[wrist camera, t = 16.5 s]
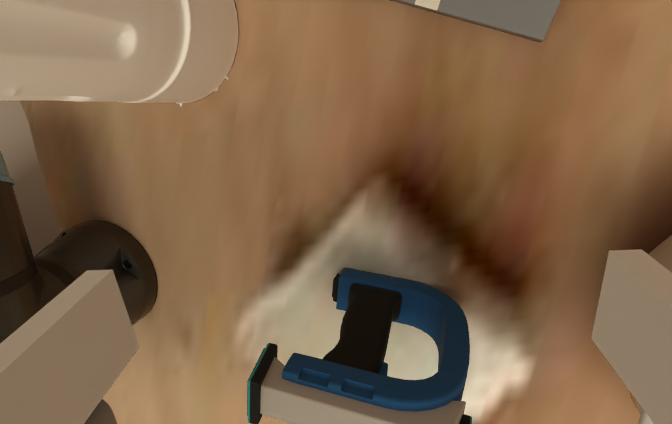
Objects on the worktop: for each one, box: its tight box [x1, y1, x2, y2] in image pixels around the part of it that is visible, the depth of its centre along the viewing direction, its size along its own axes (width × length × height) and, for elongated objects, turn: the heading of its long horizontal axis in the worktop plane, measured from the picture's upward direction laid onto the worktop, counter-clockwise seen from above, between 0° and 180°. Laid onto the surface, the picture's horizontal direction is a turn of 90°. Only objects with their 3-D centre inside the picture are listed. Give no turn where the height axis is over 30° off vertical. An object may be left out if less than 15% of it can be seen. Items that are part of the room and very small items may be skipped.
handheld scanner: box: [247, 268, 472, 424], centre depth 36 cm, size 5×16×20 cm, turn 86°
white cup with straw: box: [0, 0, 239, 107], centre depth 28 cm, size 15×15×33 cm
